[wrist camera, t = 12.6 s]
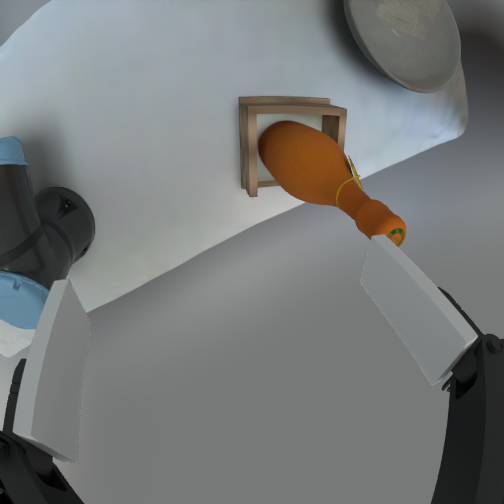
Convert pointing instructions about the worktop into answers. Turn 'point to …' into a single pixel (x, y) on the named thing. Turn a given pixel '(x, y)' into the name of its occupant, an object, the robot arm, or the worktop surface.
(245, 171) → the walnut U-rest
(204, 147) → the worktop surface
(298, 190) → the wine bottle
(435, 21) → the bowl
